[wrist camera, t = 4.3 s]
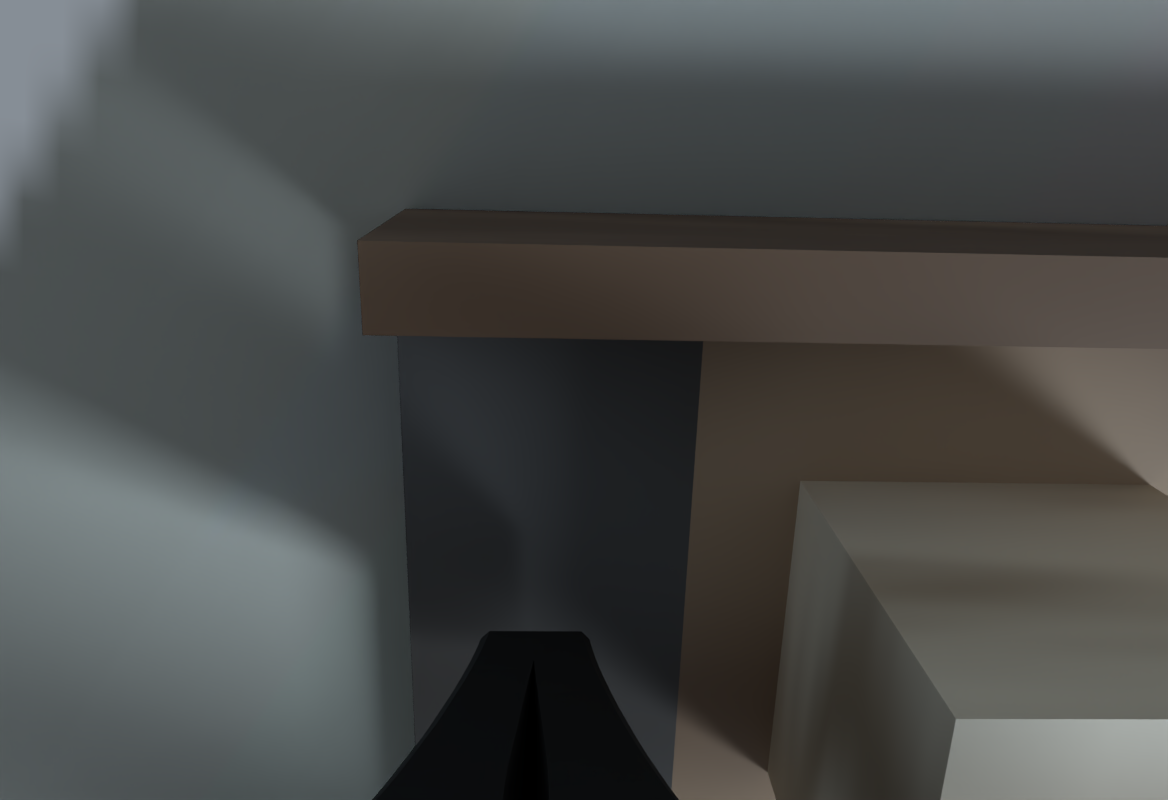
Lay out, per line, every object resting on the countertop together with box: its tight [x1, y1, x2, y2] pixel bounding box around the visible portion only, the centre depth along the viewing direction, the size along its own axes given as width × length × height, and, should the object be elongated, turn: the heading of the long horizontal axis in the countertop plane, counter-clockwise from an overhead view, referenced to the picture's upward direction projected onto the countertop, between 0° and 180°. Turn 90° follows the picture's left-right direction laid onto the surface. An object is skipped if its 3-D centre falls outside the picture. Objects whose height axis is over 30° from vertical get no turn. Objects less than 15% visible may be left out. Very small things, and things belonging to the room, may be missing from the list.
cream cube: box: [767, 481, 1168, 800], centre depth 11 cm, size 5×5×5 cm
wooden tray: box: [357, 209, 1168, 800], centre depth 13 cm, size 16×23×3 cm
